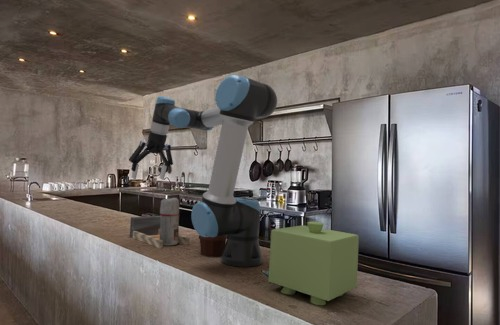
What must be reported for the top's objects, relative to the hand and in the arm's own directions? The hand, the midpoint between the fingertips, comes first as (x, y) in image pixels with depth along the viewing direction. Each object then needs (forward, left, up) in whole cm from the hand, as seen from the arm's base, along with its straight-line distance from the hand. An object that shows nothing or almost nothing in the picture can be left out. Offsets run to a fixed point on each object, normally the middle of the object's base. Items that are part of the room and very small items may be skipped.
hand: (148, 178), depth 152 cm
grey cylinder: (-3, -12, -28) cm, 30 cm away
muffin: (-15, -32, -28) cm, 45 cm away
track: (+3, -6, -28) cm, 28 cm away
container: (-53, -65, -28) cm, 88 cm away
